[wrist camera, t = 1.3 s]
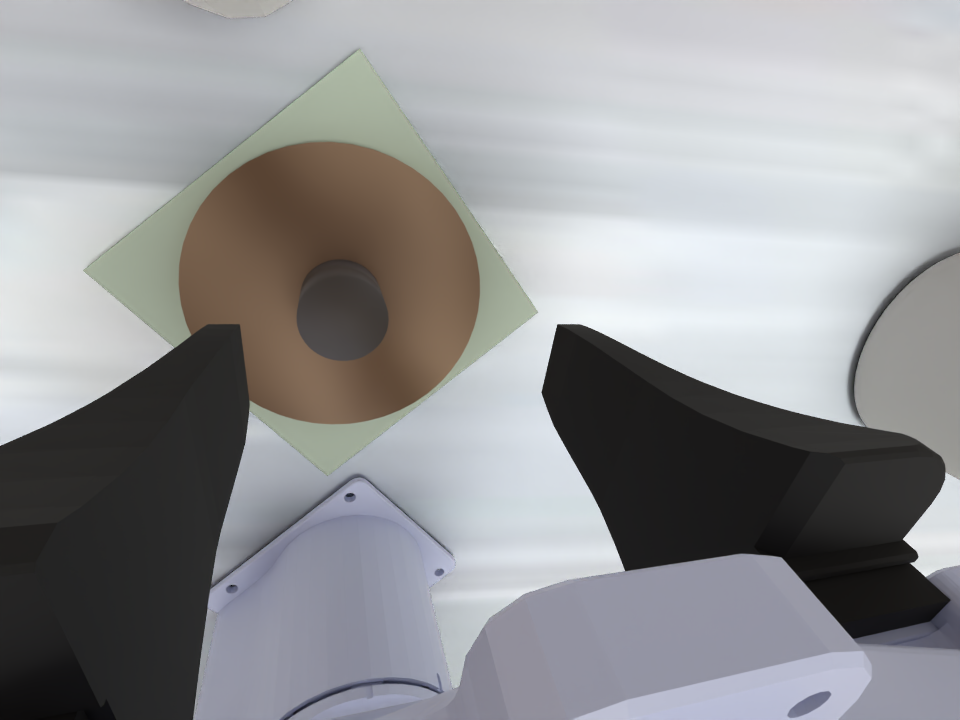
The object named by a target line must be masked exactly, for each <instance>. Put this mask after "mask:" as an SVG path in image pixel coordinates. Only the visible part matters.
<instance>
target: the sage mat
mask: <svg viewBox="0 0 960 720" xmlns="http://www.w3.org/2000/svg"><path fill="white" fill-rule="evenodd" d="M309 142H336V143H345V144H353V145H357V146H361V147H365V148H369V149H373V150H376V151H379V152H381V153H384V154H386V155H389V156H391V157H394V158H396V159H397V160H399V161H401V162H403V163H404V164H406V165H408V166H410V167H412V168H413V169H414V170H416V171H417V172H418V173H420V174H421V175H423V176H424V177H425V178H427V179H428V180H429V181H430V182H431V183H432V184H433V185H434V186H435V187H436V188H437V189H438V190H439V191H440V192H441V193H443V195H444V196H445V197H446V198H447V200H448V201H449V202H450V203H451V205H452V206H453V207H454V208H455V210H456V212H457V213H458V215H459V217H460V218H461V220H462V222H463V223H464V225H465V227H466V229H467V232H468V234H469V236H470V238H471V241H472V244H473V247H474V250H475V254H476V257H477V262H478V269H479V275H480V299H479V308H478V314H477V318H476V322H475V326H474V329H473V332H472V334H471V337H470V339H469V342H468V344H467V346H466V348H465V350H464V352H463V353H462V355H461V357H460V359H459V360H458V361H457V363H456V364H455V366H454V367H453V368H452V370H451V371H450V372H449V373H448V374H447V376H446V377H445V378H444V379H443V380H442V381H441V382H440V383H439V384H438V385H437V386H436V387H434V388H433V389H432V390H431V391H430V392H429V393H428V394H426V395H425V396H423V397H422V398H420V399H419V400H417V401H416V402H414V403H413V404H411V405H409V406H407V407H405V408H403V409H401V410H399V411H397V412H394V413H392V414H389V415H387V416H384V417H381V418H377V419H373V420H369V421H365V422H358V423H352V424H318V423H310V422H305V421H299V420H295V419H291V418H288V417H285V416H281V415H278V414H276V413H274V412H271V411H269V410H267V409H264V408H262V407H260V406H259V405H257V404H255V403H253V402H252V401H250V400H249V401H250V408H249V411H251V412H252V413H253V414H254V415H255V416H256V417H258V418H259V419H260V420H261V421H262V422H264V423H265V424H266V425H267V426H268V427H270V428H271V429H272V430H273V431H274V432H276V433H277V434H278V435H279V436H280V437H281V438H283V439H284V440H285V441H286V442H287V443H289V444H290V445H291V446H292V447H293V448H295V449H296V450H297V451H298V452H299V453H300V454H302V455H303V456H304V457H305V458H306V459H308V460H309V461H310V462H311V463H312V464H314V465H315V466H316V467H317V468H318V469H320V470H321V471H322V472H323V473H324V474H325V475H327V476H328V475H330V474H331V473H332V472H334V471H335V470H336V469H337V468H339V467H340V466H341V465H343V464H344V463H345V462H346V461H348V460H349V459H350V458H352V457H353V456H354V455H355V454H357V453H358V452H359V451H361V450H362V449H363V448H364V447H366V446H367V445H368V444H370V443H371V442H372V441H373V440H375V439H376V438H377V437H379V436H380V435H381V434H382V433H384V432H385V431H386V430H388V429H389V428H390V427H391V426H393V425H394V424H395V423H397V422H398V421H399V420H400V419H402V418H403V417H404V416H406V415H407V414H408V413H409V412H411V411H412V410H413V409H414V408H416V407H417V406H418V405H420V404H421V403H422V402H423V401H425V400H426V399H427V398H429V397H430V396H431V395H432V394H434V393H435V392H436V391H438V390H439V389H440V388H441V387H443V386H444V385H445V384H447V383H448V382H449V381H450V380H452V379H453V378H454V377H456V376H457V375H458V374H459V373H461V372H462V371H463V370H465V369H466V368H467V367H468V366H470V365H471V364H472V363H474V362H475V361H476V360H477V359H479V358H480V357H481V356H483V355H484V354H485V353H486V352H488V351H489V350H490V349H492V348H493V347H494V346H495V345H497V344H498V343H499V342H501V341H502V340H503V339H504V338H506V337H507V336H508V335H510V334H511V333H512V332H513V331H515V330H516V329H517V328H519V327H520V326H521V325H522V324H524V323H525V322H526V321H528V320H529V319H530V318H531V317H533V316H534V315H535V314H537V313H538V311H537V310H536V309H535V307H534V306H533V304H532V303H531V301H530V300H529V298H528V297H527V295H526V294H525V292H524V291H523V289H522V288H521V286H520V285H519V283H518V282H517V280H516V279H515V277H514V276H513V275H512V273H511V272H510V270H509V269H508V267H507V266H506V264H505V263H504V261H503V260H502V258H501V257H500V255H499V254H498V252H497V251H496V249H495V248H494V246H493V245H492V243H491V242H490V241H489V239H488V238H487V236H486V235H485V233H484V232H483V230H482V229H481V227H480V226H479V224H478V223H477V221H476V220H475V218H474V217H473V215H472V214H471V212H470V211H469V209H468V208H467V206H466V205H465V204H464V202H463V201H462V199H461V198H460V196H459V195H458V193H457V192H456V190H455V189H454V187H453V186H452V184H451V183H450V181H449V180H448V178H447V177H446V175H445V174H444V172H443V171H442V170H441V168H440V167H439V165H438V164H437V162H436V161H435V159H434V158H433V156H432V155H431V153H430V152H429V150H428V149H427V147H426V146H425V144H424V143H423V141H422V140H421V138H420V137H419V136H418V134H417V133H416V131H415V130H414V128H413V127H412V125H411V124H410V122H409V121H408V119H407V118H406V116H405V115H404V113H403V112H402V110H401V109H400V107H399V106H398V104H397V103H396V102H395V100H394V99H393V97H392V96H391V94H390V93H389V91H388V90H387V88H386V87H385V85H384V84H383V82H382V81H381V79H380V78H379V76H378V75H377V73H376V72H375V70H374V69H373V67H372V66H371V65H370V63H369V62H368V60H367V59H366V57H365V56H364V54H363V53H362V51H361V50H360V49H359V50H358V51H356V52H355V53H354V54H353V55H351V56H350V57H349V58H348V59H346V60H345V61H344V62H343V63H341V64H340V65H339V66H338V67H336V68H335V69H334V70H333V71H331V72H330V73H329V74H328V75H326V76H325V77H324V78H323V79H321V80H320V81H319V82H318V83H316V84H315V85H314V86H313V87H311V88H310V89H309V90H308V91H306V92H305V93H304V94H303V95H301V96H300V97H299V98H298V99H296V100H295V101H294V102H293V103H291V104H290V105H289V106H288V107H286V108H285V109H284V110H283V111H281V112H280V113H279V114H278V115H276V116H275V117H274V118H273V119H271V120H270V121H269V122H268V123H266V124H265V125H264V126H263V127H261V128H260V129H259V130H258V131H257V132H255V133H254V134H253V135H252V136H250V137H249V138H248V139H247V140H245V141H244V142H243V143H242V144H240V145H239V146H238V147H237V148H235V149H234V150H233V151H232V152H230V153H229V154H228V155H227V156H225V157H224V158H223V159H222V160H220V161H219V162H218V163H217V164H215V165H214V166H213V167H212V168H210V169H209V170H208V171H207V172H205V173H204V174H203V175H202V176H200V177H199V178H198V179H197V180H195V181H194V182H193V183H192V184H190V185H189V186H188V187H187V188H185V189H184V190H183V191H182V192H180V193H179V194H178V195H177V196H175V197H174V198H173V199H172V200H170V201H169V202H168V203H167V204H165V205H164V206H163V207H162V208H160V209H159V210H158V211H157V212H155V213H154V214H153V215H152V216H150V217H149V218H148V219H147V220H145V221H144V222H143V223H142V224H140V225H139V226H138V227H137V228H135V229H134V230H133V231H132V232H130V233H129V234H128V235H127V236H125V237H124V238H123V239H122V240H121V241H119V242H118V243H117V244H116V245H114V246H113V247H112V248H111V249H109V250H108V251H107V252H106V253H104V254H103V255H102V256H101V257H99V258H98V259H97V260H96V261H94V262H93V263H92V264H91V265H89V266H88V267H87V268H86V269H84V270H83V271H84V272H85V273H86V274H88V275H89V276H90V277H91V278H92V279H94V280H95V281H96V282H97V283H98V284H100V285H101V286H102V287H103V288H104V289H105V290H107V291H108V292H109V293H110V294H111V295H113V296H114V297H115V298H116V299H117V300H119V301H120V302H121V303H122V304H123V305H125V306H126V307H127V308H128V309H129V310H130V311H132V312H133V313H134V314H135V315H136V316H138V317H139V318H140V319H141V320H142V321H144V322H145V323H146V324H147V325H148V326H149V327H151V328H152V329H153V330H154V331H155V332H157V333H158V334H159V335H160V336H161V337H163V338H164V339H165V340H166V341H167V342H169V343H170V344H171V345H172V346H173V347H174V348H175V347H177V346H178V345H179V344H181V343H182V342H183V341H185V340H186V339H187V338H189V337H190V336H191V333H190V331H189V329H188V327H187V324H186V321H185V317H184V314H183V310H182V306H181V301H180V293H179V284H178V283H179V262H180V257H181V251H182V246H183V242H184V240H185V237H186V234H187V231H188V228H189V226H190V223H191V222H192V220H193V218H194V216H195V214H196V212H197V211H198V209H199V207H200V205H201V204H202V203H203V202H204V200H205V199H206V198H207V196H208V195H209V194H210V193H211V191H212V190H213V189H214V188H215V187H216V186H217V185H218V184H219V183H220V182H221V181H222V180H223V179H225V178H226V177H227V176H228V175H229V174H230V173H232V172H233V171H235V170H236V169H238V168H239V167H241V166H242V165H243V164H245V163H246V162H248V161H250V160H252V159H255V158H257V157H259V156H261V155H263V154H265V153H267V152H270V151H274V150H277V149H280V148H283V147H286V146H291V145H297V144H303V143H309Z"/></svg>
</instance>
